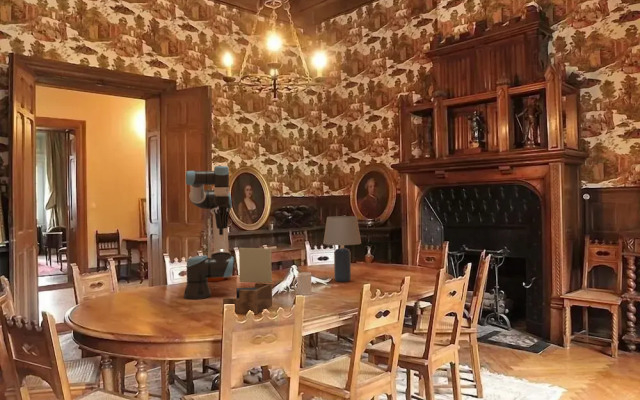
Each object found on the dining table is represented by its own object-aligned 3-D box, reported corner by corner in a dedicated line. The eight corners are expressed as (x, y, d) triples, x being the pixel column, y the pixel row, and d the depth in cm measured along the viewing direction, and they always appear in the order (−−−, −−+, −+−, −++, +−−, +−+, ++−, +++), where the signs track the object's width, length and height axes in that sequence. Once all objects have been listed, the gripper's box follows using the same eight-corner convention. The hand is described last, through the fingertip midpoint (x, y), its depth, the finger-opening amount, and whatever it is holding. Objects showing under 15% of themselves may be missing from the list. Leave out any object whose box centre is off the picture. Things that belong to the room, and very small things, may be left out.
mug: (296, 296, 292) (296, 275, 292) (289, 294, 300) (289, 273, 300) (314, 294, 298) (314, 273, 298) (307, 291, 306) (307, 271, 306)
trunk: (223, 312, 255) (222, 289, 255) (240, 304, 274) (240, 282, 274) (256, 314, 249) (256, 291, 249) (272, 305, 269) (271, 283, 268)
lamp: (318, 279, 350) (318, 216, 349) (353, 277, 357) (352, 215, 357) (330, 285, 326) (330, 218, 325) (367, 283, 333) (366, 217, 333)
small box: (236, 311, 258) (236, 290, 257) (236, 308, 264) (236, 288, 264) (258, 309, 260) (257, 289, 260) (256, 307, 266) (256, 287, 266)
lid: (239, 248, 272) (240, 247, 274) (239, 281, 273) (240, 281, 274) (270, 248, 267) (271, 248, 269) (270, 283, 267) (272, 282, 269)
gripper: (221, 195, 259) (222, 242, 259) (234, 195, 272) (234, 240, 272) (208, 195, 262) (209, 242, 262) (221, 195, 274) (222, 239, 274)
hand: (222, 241), depth 267 cm, fingers closed
